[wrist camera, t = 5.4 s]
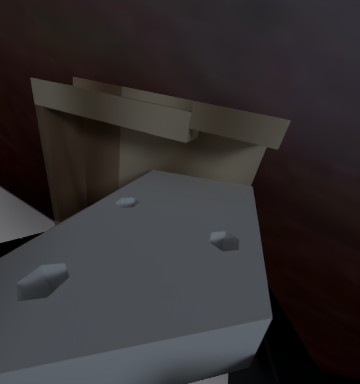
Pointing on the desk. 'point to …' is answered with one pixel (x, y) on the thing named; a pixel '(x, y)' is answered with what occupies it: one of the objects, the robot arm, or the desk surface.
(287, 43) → the desk surface
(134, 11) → the desk surface
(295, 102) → the desk surface
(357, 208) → the desk surface
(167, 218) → the white wedge bracket
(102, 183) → the slotted track
